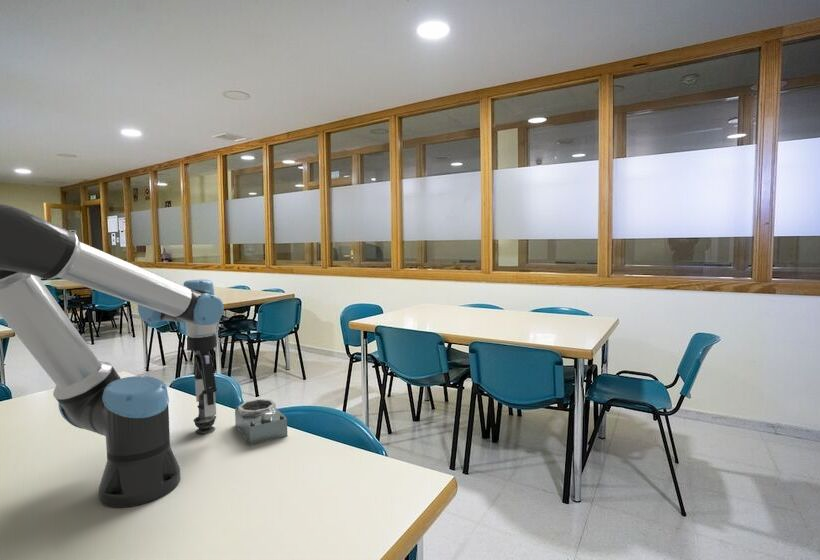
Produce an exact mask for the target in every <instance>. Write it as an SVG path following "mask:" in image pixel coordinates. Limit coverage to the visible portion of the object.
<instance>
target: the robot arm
mask: <svg viewBox="0 0 820 560" xmlns="http://www.w3.org/2000/svg"><path fill="white" fill-rule="evenodd" d="M57 278H59V279H62V280H64V281H68V282H71V283H73V284H77V285H79V286H82V287H86V288H89V289H91V290H94V291H97V292H101V293H104V294H106V295H109V296H112V297H115V298H118V299H119V300H120V299H121V300H123V301H127V302H130V303H132V304H136V305H137V313H138V315H139V317H140V318H141V320H142V321H144V322H145V323H150V324H151V323H160V322H163V321H164V322H166V321H168V322H169V321H170V322H174V323H175V322H177V323H185V333H186V334H185V335H187V336H186V346H187V350H189V351H191V352H193V372H192V373H193V376H194V379H195V380H194V385H195V398H196V399H195V400H196V402H198V403H199V395H200V394H201V393H202V395H203V394H204V408H205V417H208V416H212V415H215V416H217V404H216V392H217V385H216V378H215V377H216V376H215V371H214V364H213V358H214V357H213V355H212V354H210V350H212V349H215V348H216V347H217V346H218V345H217V344H218V342H217V335H216V331H217V330H216V329H217V327H216V326H217V325H218V324H219V321H220V320H221V319H222V316H223V314H224V310H225V309H224V308H225V307H224V303H223V301H222V299H221V298H220V297H219V296H217V295H216V294H215V289H214V283H213V281H212V280H210V279H190V280H185V281H184V282H183V284H180V283H178V282H177V281H174V280H171V279H169V278H167V277H164V276H161V275H159V274H157V273H154V272H152V271H150V270H148V269H145V268H143V267H141V266H138V265H136V264H133V263H131V262H129V261H126V260H125V259H122V258H119V257H118V256H114V255H113V254H110V253H108V252H106V251H103V250H100V249H98V248H96V247H93V246H92V245H89V244H87V243H84V242H82V241H79V238H78V235H77V234H76V233H74V232H72V231H70V230H69V229H66V228H63V227H61V226H58V225H57V224H55V223H53V222H50V221H49V220H47V219H44V218H42V217H39V216H37V215H35V214H33V213H30V212H28V211H25V210H23V209H21V208H18V207H14V206H13V205H8V204H4V203H0V317H1V318H2V319H3V321H5V324H7V326H9V328H10V329H11V330H12V331H13V333H14V334H15V335H16V336H17V338H18V339H19V340H20V342H22V344H23V345H24V347H25V348H26V349H27V351H28V352H29V353H30V354H31V355H32V357H33V358H34V359H35V361H36V362H37V363H38V364H39V365H40V367H41V368H42V369H43V370H44V371H45V373H46V374H47V376H48V377H49V378H50V379H51V380H52V382H53V383H54V384H55V387H54V390H53V393H52V394H53V395H52V396H53V397H54V398H55V400H56V401H57V404H58V405H57V406H58V410H59V413H60V414H61V417H62V418H63V419H64V420H66V422H67V423H68V424H70V425H72V426H74V427H75V428H78V429H82V430H85V431H86V430H87V431H88V432H89V431H90V432H92V433H96V434H99V435H101V436H104V437H105V444H106V448H105V449H106V463H105V466H104V470H103V473H102V476H101V478H100V479H101V480H100V483H99V486H98V500H99V502H100V504H102V506H103V505H104V506H106V507H110V508H128V507H134V506H139V505H143V504H146V503H150V502H152V501H154V500H155V501H156V500H157V499H159V498H161V497H164V496H165V495H167V494H169V493H170V492H172V490H173V491H174V489H176V487H177V486H178V485H179V483H180V481H181V479H182V478H181V468H180V465H179V463H178V460H177V459H176V455H175V454H174V451H173V449H172V448H171V441H170V440H171V439H170V437H171V436H170V434H171V432H170V414H169V411H170V410H169V409H170V408H169V403H170V398H169V393H168V387H167V385H166V383H165V382H164V381H163V380H161V379H159V378H157V377H153V376H140V375H138V376H136V375H135V376H128V377H127V376H126V377H122V378H121V377H120V375H119V374H118V373H117V371H116V369H115V367H114V366H113V365H112V364H111V362H107V361H100V360H98V358H97V356H96V355H95V354H94V352H93V351H92V349H91V348H90V347H89V345H88V343H86V341H85V340H84V338H83V337H82V335H81V334H80V333H79V331H78V330H77V328H76V327H75V326H74V324H73V323H72V321H71V320H70V319H69V317H68V316H67V314H66V313H65V312H64V310H63V309H62V307H61V305H59V303H58V302H57V301H56V299H55V297H54V295H52V293H51V292H50V290H49V289H48V288H47V286H46V285H45V283H44V282H43V280H42V279H44V280H53V279H57ZM203 390H204V391H203Z"/></svg>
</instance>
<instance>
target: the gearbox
mask: <svg viewBox="0 0 820 560" xmlns="http://www.w3.org/2000/svg"><path fill="white" fill-rule="evenodd" d="M234 418H235V419H234V421H235V426H236V428H237V429H238V430H239V432H240V433H241V435H242V436H243V438H245V440H246V442H248V444H249V445H250V446H253V445H254V446H255V445H257V444H261V443H264V442H269V441H272V440H277V439H280V438H284V437H288V418H287V417H286V415H284V413H282V411H280V410H279V409H278V408H276V403H275V402H274V400H272V399H265V398H263V399H262V398H257V399H253V400H247V401H244V402H243V403H242V404H240V405H238V406H237V407H235V408H234Z"/></svg>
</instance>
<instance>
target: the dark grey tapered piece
mask: <svg viewBox="0 0 820 560" xmlns="http://www.w3.org/2000/svg"><path fill="white" fill-rule="evenodd" d="M203 391H204V390H203ZM197 408H198V414H197V415H198V416H196V417H195V418H193V421H192V422H193V423H194V425H195V427H197V428H198V429H195V431H194V432H195V433H194V434H196V435H200V436H201V435H209V434H211V433H214V432H215V431H216V427H215V426H213V425H214V424H215V421H216V418H217V415H212V416H208V417H205V408H204V394H203V395H202V393H201V394H200V395H199V402H198V405H197Z"/></svg>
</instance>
